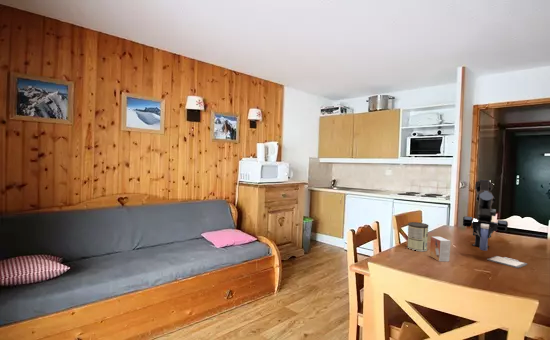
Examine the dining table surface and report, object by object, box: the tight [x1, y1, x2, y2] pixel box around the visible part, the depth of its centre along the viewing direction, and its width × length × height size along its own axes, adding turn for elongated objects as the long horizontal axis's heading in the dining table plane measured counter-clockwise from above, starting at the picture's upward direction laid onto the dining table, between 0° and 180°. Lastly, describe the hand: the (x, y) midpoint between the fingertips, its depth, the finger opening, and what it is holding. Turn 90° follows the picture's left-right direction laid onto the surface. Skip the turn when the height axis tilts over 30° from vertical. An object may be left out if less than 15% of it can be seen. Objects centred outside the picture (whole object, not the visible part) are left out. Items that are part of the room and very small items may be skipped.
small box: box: [429, 236, 452, 262], centre depth 152 cm, size 8×6×10 cm
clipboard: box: [486, 255, 528, 269], centre depth 150 cm, size 11×13×1 cm
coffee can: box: [406, 221, 430, 252], centre depth 168 cm, size 10×10×14 cm
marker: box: [479, 223, 490, 252], centre depth 151 cm, size 3×3×13 cm
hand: (484, 237), depth 150 cm, fingers closed on marker, 3 cm apart
